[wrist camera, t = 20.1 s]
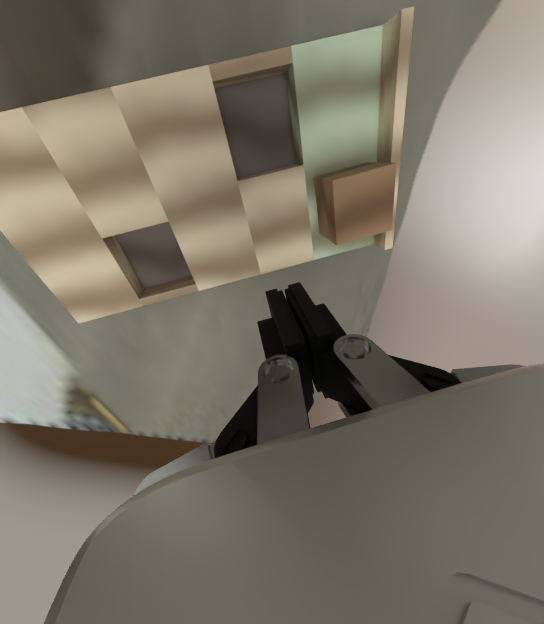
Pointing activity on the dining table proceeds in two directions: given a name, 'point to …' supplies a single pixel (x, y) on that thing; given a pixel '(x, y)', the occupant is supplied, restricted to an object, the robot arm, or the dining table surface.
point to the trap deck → (199, 169)
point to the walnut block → (355, 201)
